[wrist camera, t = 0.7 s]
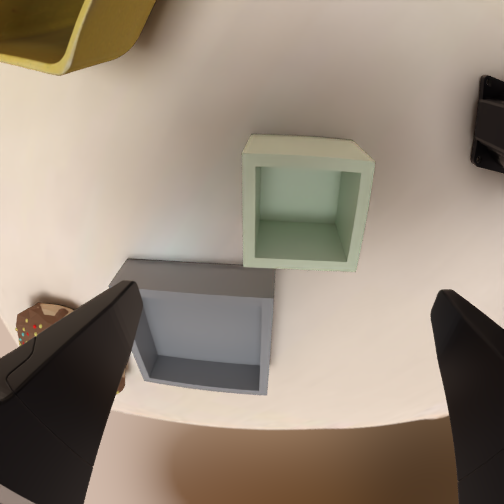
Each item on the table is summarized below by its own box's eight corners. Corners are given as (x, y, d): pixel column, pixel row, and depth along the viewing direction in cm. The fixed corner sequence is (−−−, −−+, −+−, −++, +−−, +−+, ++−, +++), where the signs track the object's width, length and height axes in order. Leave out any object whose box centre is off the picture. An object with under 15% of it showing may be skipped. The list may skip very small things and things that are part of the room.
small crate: (351, 140, 17) (375, 161, 13) (341, 228, 20) (355, 272, 16) (251, 133, 17) (241, 153, 13) (251, 224, 21) (243, 266, 16)
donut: (116, 305, 26) (94, 344, 22) (141, 387, 34) (129, 420, 29) (13, 281, 27) (-12, 309, 22) (50, 359, 34) (35, 386, 30)
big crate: (275, 266, 22) (273, 298, 19) (268, 365, 28) (266, 395, 25) (127, 258, 23) (108, 285, 20) (154, 353, 29) (144, 380, 26)
